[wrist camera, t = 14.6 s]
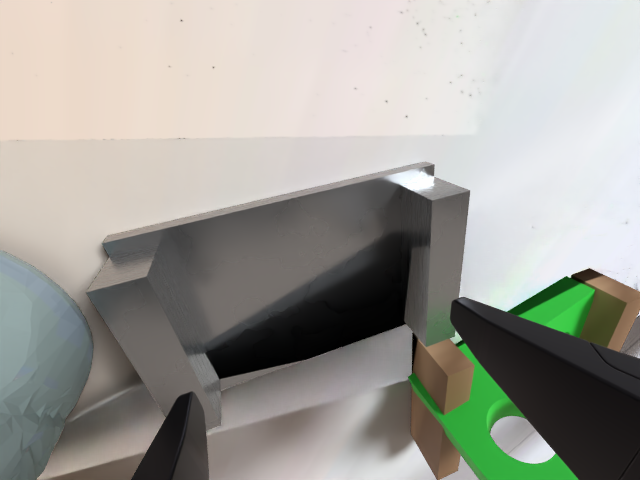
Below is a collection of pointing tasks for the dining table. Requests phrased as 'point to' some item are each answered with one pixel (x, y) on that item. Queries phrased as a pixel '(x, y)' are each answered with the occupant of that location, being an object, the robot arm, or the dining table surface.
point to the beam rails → (457, 370)
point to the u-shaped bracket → (283, 280)
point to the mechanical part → (493, 404)
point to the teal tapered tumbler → (37, 366)
